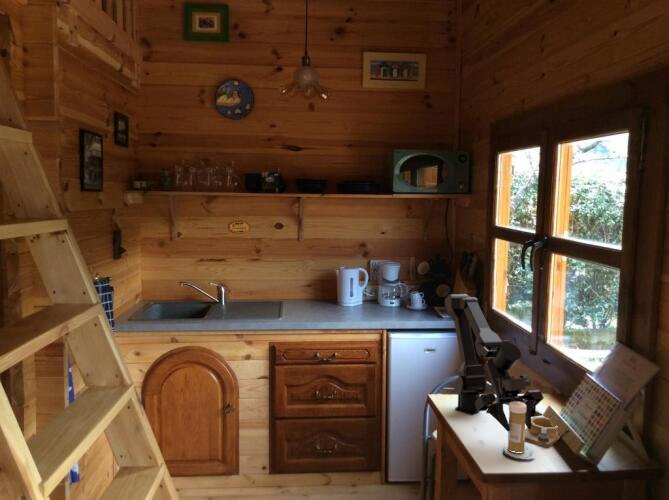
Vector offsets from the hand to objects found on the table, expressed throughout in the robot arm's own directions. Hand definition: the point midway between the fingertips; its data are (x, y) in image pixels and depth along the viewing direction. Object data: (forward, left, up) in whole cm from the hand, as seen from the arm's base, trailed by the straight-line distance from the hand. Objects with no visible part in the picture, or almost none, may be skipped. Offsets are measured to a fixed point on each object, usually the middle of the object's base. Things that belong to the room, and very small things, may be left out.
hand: (519, 429), depth 152 cm
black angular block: (-11, +31, -7) cm, 33 cm away
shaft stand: (0, +17, -7) cm, 18 cm away
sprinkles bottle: (-1, +1, -7) cm, 7 cm away
